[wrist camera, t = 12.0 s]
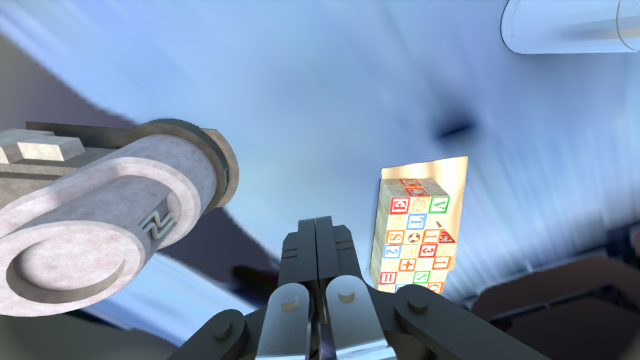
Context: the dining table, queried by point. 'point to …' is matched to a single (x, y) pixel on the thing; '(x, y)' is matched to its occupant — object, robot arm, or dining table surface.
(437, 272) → the stack of blocks
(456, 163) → the oak board
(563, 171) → the dining table surface
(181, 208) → the juicer
